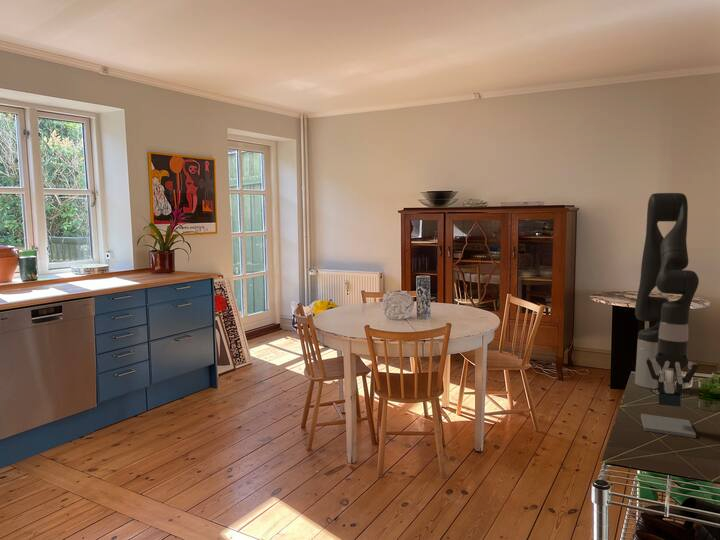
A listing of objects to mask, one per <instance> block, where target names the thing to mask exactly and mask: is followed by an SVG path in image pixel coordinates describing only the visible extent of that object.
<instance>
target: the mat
mask: <svg viewBox="0 0 720 540" xmlns="http://www.w3.org/2000/svg"><path fill="white" fill-rule="evenodd" d="M640 419H641V423H642V427H644V428H643V431H644V432H649V431H650V433H658V434H663V435H670V436H678V437H685V438H691V439H692V438H693V439H696V438H697V434H696V432H695V430H694V428H693V426H692V423H691V421H690V420H688V419H683V418H675V417H668V416H661V415H652V414H647V413H640Z"/></svg>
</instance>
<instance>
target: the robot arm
mask: <svg viewBox="0 0 720 540" xmlns="http://www.w3.org/2000/svg"><path fill="white" fill-rule="evenodd" d="M647 201H648V202H647V210H646V211H647V214H646V231H645V240H644V245H643V252H642V257H641V258H642V259H641V268H640V269H641V270H640V280H639V285H638V286H639V287H638V290H637V296H636V300H635V301H636V302H635V305H634V315H635V318H636V319H637V320H639V321H641V322H653V323H654V322H655V323H656V324H654V325H653V326H650V327H647V328H645V329H644V328H643V329H640V330H639V331H638V332H637V333H638V334H637V345H636V361H635V375H634V378H635V379H634V384H635V385H637V386H638V387H641V388H645V389H652V390H653V389H654V390H657V391H658V393H659V392H660V393H661V394H663V391H665V390H664V388H665V381H664V377H665V369H668V368H674V372H676V378H677V381H676V382H675V390H674V392H675V394H676V395H679V394H681V395H682V393H683V385H684V384H689V383H690V382H691V381H692V379H693V377H694V376H695V373H696V372H697V370H698V368H699V365H698V364H697V363H696V362H692V361H690V360H689V359H688V345H689V338H690V337H689V319H690V318H689V316H690V308H691V305H692V301H693V299H694V297H695V294H696V292H697V290H698V287H699V283H700V281H699V280H700V279H699V276H698V274H697V272H695V271H693V270H690V269H689V270H688V269H686V268H687V267H688V265H689V253H688V246H687V245H688V244H687V235H688V234H687V233H688V215H689V211H688V210H689V205H688V197H687V195H685V194H684V193H683V192H682V193H681V192H656V193H652V194H651V195H649V198H648V200H647ZM659 222H675V224H674V225H673V227H672V228H671V229H670V230H669V231H668V233H667V234H666V235H665V236H663V234H662V232H661V230H660V228H659V226H658V223H659ZM655 288H657V290H658V291H659V292H661V293H662V294H670V295H681V297H679V298H678V299H677V300H670V301H669V299H668V297H665V296H664V297H663V296H652V295H651V293H652V291H653V289H655ZM686 366H687V368H688V370H687V372H686V374H685V376H684V377H683V375H682V371H683V369H684V368H685V367H686Z"/></svg>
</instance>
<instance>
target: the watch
mask: <svg viewBox="0 0 720 540" xmlns="http://www.w3.org/2000/svg"><path fill="white" fill-rule="evenodd" d="M663 382H664V390H663V394H661V393H660V392H658V405H661V406H670V407H682V400H681V399H682V394H679V395H676V394H675V389H676V382H677V378H676V372H674V368H668V369H665V377H664V380H663Z"/></svg>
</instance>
